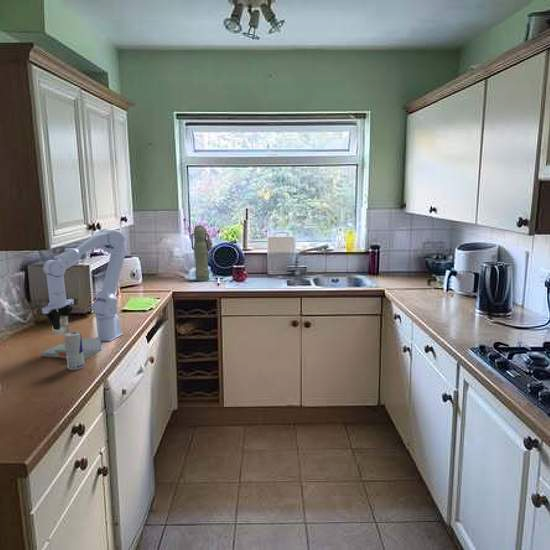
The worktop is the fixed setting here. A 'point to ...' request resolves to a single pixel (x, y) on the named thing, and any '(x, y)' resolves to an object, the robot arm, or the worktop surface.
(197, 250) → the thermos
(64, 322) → the column block
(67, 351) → the energy drink
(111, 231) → the robot arm
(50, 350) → the stepped stand
